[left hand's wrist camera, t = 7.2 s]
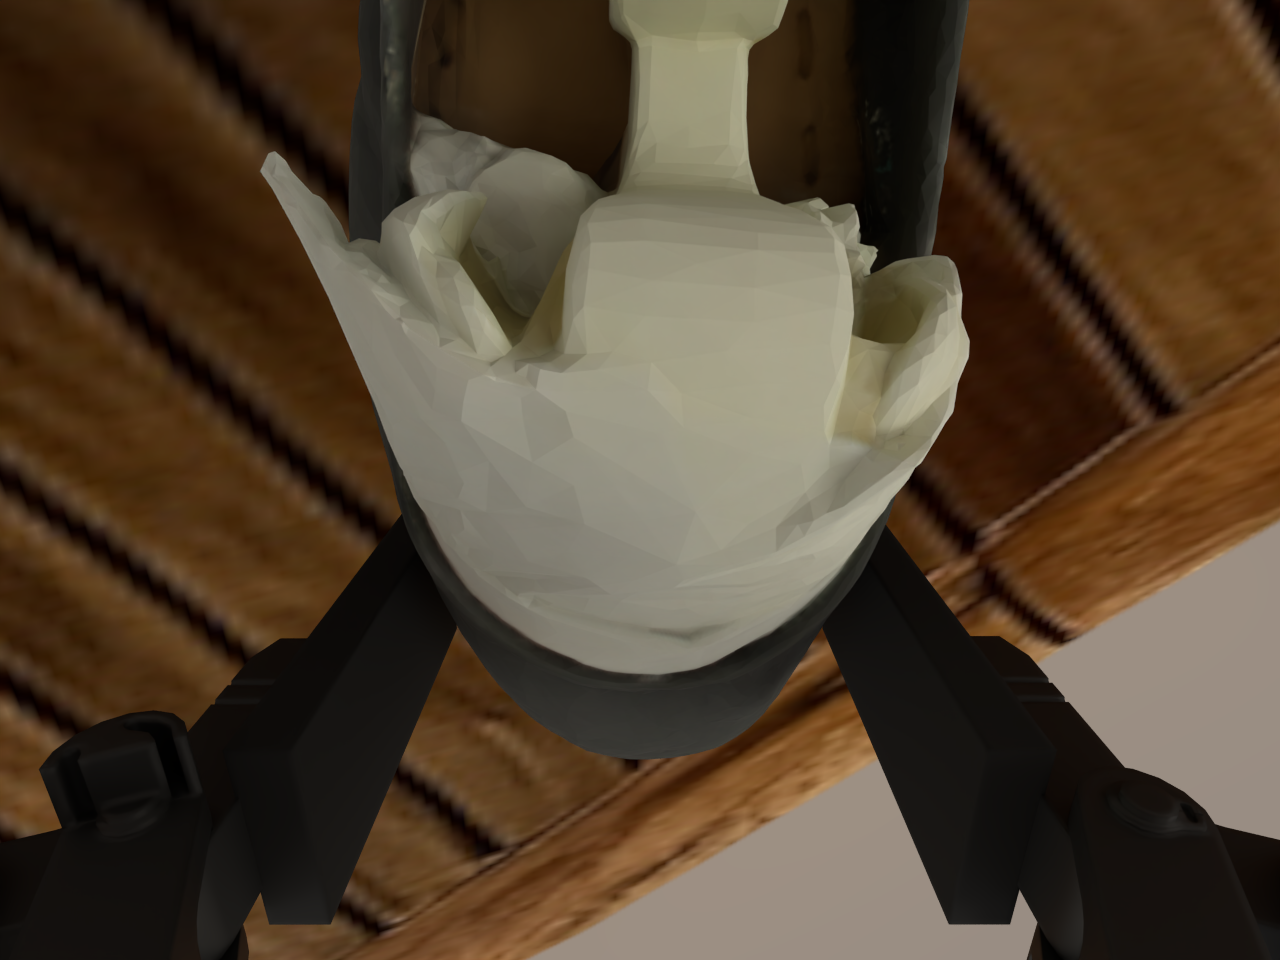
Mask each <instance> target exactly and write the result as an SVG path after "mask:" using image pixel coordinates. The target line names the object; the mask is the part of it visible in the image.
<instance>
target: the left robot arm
mask: <svg viewBox="0 0 1280 960" xmlns="http://www.w3.org/2000/svg"><path fill="white" fill-rule="evenodd" d="M456 629H457V626H456V623H455V621H454V619H453V617H452V615H451V614H450V612H449V610H448V608H447V607H446V605H445V603H444V601H443V600H442V598H441V596H440V594H439V592H438V589H437V587H436V585H435V583H434V581H433V579H432V577H431V575H430V573H429V571H428V569H427V568H426V566H425V564H424V562H423V561H422V559H421V557H420V555H419V554H418V552H417V550H416V548H415V546H414V544H413V542H412V540H411V537H410V535H409V533H408V530H407V527H406V525H405V522H404V519H403V516H402V514H401V516H400V517H399V518H398V520H397V521H396V522H395V524H394V525H393V526H392V528H391V529H390V530H389V532H388V533H387V534H386V535H385V537H384V538H383V539H382V541H381V542H380V543H379V545H378V546H377V547H376V549H375V550H374V551H373V553H372V554H371V555H370V557H369V558H368V559H367V560H366V562H365V563H364V564H363V566H362V567H361V568H360V570H359V571H358V572H357V574H356V575H355V576H354V578H353V579H352V580H351V582H350V583H349V584H348V586H347V587H346V588H345V589H344V591H343V592H342V593H341V595H340V596H339V597H338V599H337V600H336V601H335V603H334V604H333V605H332V607H331V608H330V609H329V611H328V612H327V613H326V614H325V616H324V617H323V618H322V620H321V621H320V622H319V624H318V625H317V626H316V628H315V629H314V630H313V632H312V633H311V634H310V636H309V637H308V638H282V639H279V640H277V641H276V642H274V643H273V644H271V645H270V646H268V647H267V648H265V649H264V650H262V651H261V652H259V653H258V654H256V655H255V656H253V657H252V658H250V660H249V661H248V662H247V663H246V664H245V665H244V667H243V668H242V669H241V670H240V671H239V673H238V674H237V675H236V676H235V677H234V678H233V680H232V683H231V685H227V687H226V688H225V689H224V690H223V691H222V693H221V694H220V695H219V696H218V697H217V698H216V700H215V701H216V702H215V705H210V707H209V708H208V709H207V710H206V711H205V713H204V714H203V715H202V716H201V717H200V718H199V720H198V721H197V722H196V723H195V724H194V725H193V727H192V728H191V729H190V730H189V731H188V733H187V729H186V726H185V722H184V721H183V720H181V719H180V718H179V717H177V716H176V715H175V714H173V713H167V712H161V711H145V712H137V713H129V714H126V715H122V716H119V717H116V718H113V719H109V720H106V721H103V722H100V723H98V724H96V725H94V726H92V727H90V728H88V729H86V730H84V731H82V732H80V733H78V734H76V735H75V736H73V737H72V738H71V739H69V740H68V741H67V742H65V743H64V744H62V745H61V746H60V747H58V748H57V749H56V750H54V751H53V752H52V753H51V755H50V756H49V757H48V758H47V760H46V761H45V762H44V764H43V765H42V766H41V767H40V769H39V771H40V773H41V776H42V778H43V781H44V783H45V786H46V788H47V791H48V793H49V796H50V799H51V801H52V804H53V806H54V809H55V811H56V814H57V816H58V819H59V821H60V824H61V826H62V828H61V829H58V830H54V831H50V832H46V833H41V834H37V835H33V836H28V837H24V838H20V839H16V840H11V841H7V842H3V843H0V960H248V956H249V949H248V943H247V937H246V933H245V929H244V926H243V923H244V921H245V919H246V918H247V916H248V914H249V912H250V910H251V908H252V907H253V905H254V903H255V901H256V899H257V897H258V896H259V894H260V892H261V895H262V899H263V903H264V906H265V910H266V914H267V917H268V921H269V924H331V922H332V920H333V917H334V915H335V913H336V910H337V908H338V906H339V903H340V901H341V899H342V896H343V894H344V892H345V889H346V887H347V885H348V882H349V880H350V878H351V875H352V873H353V870H354V868H355V866H356V863H357V861H358V859H359V856H360V854H361V852H362V849H363V847H364V845H365V842H366V840H367V838H368V835H369V833H370V831H371V828H372V826H373V824H374V821H375V819H376V817H377V814H378V812H379V810H380V807H381V805H382V803H383V800H384V798H385V796H386V793H387V791H388V789H389V786H390V784H391V782H392V779H393V777H394V774H395V772H396V770H397V767H398V765H399V763H400V760H401V758H402V756H403V753H404V751H405V749H406V746H407V744H408V742H409V739H410V737H411V735H412V732H413V730H414V728H415V725H416V723H417V721H418V718H419V716H420V714H421V711H422V709H423V707H424V704H425V702H426V700H427V697H428V695H429V693H430V690H431V688H432V685H433V683H434V681H435V678H436V676H437V674H438V671H439V669H440V667H441V664H442V662H443V660H444V657H445V655H446V653H447V650H448V648H449V646H450V643H451V641H452V639H453V636H454V634H455V632H456ZM823 631H824V633H825V635H826V638H827V640H828V642H829V645H830V647H831V649H832V652H833V654H834V656H835V659H836V661H837V663H838V666H839V668H840V670H841V673H842V675H843V677H844V680H845V682H846V684H847V687H848V689H849V692H850V694H851V696H852V699H853V701H854V703H855V706H856V708H857V710H858V713H859V715H860V717H861V720H862V722H863V724H864V727H865V729H866V731H867V734H868V736H869V738H870V741H871V743H872V745H873V748H874V750H875V752H876V755H877V757H878V759H879V762H880V764H881V766H882V769H883V771H884V773H885V776H886V778H887V780H888V783H889V785H890V788H891V790H892V792H893V795H894V797H895V799H896V801H897V804H898V806H899V809H900V811H901V813H902V816H903V818H904V820H905V823H906V825H907V827H908V830H909V832H910V834H911V837H912V839H913V841H914V844H915V846H916V848H917V851H918V853H919V855H920V858H921V860H922V862H923V865H924V867H925V869H926V872H927V874H928V876H929V879H930V881H931V884H932V886H933V888H934V890H935V893H936V895H937V898H938V900H939V902H940V905H941V907H942V909H943V912H944V914H945V916H946V919H947V921H948V923H949V924H1010V923H1011V919H1012V915H1013V911H1014V907H1015V904H1016V900H1017V896H1018V893H1019V889H1020V891H1021V893H1022V895H1023V897H1024V898H1025V900H1026V902H1027V904H1028V906H1029V908H1030V909H1031V911H1032V913H1033V915H1034V917H1035V918H1036V920H1037V922H1038V923H1037V926H1036V929H1035V933H1034V936H1033V940H1032V943H1031V947H1030V950H1029V954H1028V957H1027V960H1280V840H1278V839H1273V838H1269V837H1265V836H1260V835H1256V834H1252V833H1248V832H1243V831H1239V830H1235V829H1230V828H1226V827H1223V826H1219V825H1216V824H1214V822H1213V821H1212V819H1211V818H1210V816H1209V815H1208V813H1207V812H1206V810H1205V809H1204V808H1202V807H1201V806H1200V805H1199V804H1198V803H1197V802H1195V801H1194V800H1193V799H1192V798H1191V797H1189V796H1188V795H1187V794H1186V793H1185V792H1183V791H1181V790H1180V789H1178V788H1176V787H1174V786H1173V785H1171V784H1169V783H1167V782H1165V781H1164V780H1162V779H1160V778H1158V777H1155V776H1152V775H1149V774H1146V773H1143V772H1140V771H1138V770H1135V769H1130V768H1125V767H1124V766H1123V765H1122V764H1121V763H1120V761H1119V760H1118V759H1117V758H1116V757H1115V756H1114V754H1113V753H1112V752H1111V751H1110V750H1109V749H1108V747H1107V746H1106V745H1105V744H1104V743H1103V742H1102V740H1101V739H1100V738H1099V737H1098V736H1097V735H1096V733H1095V732H1094V731H1093V730H1092V729H1091V727H1090V726H1089V725H1088V724H1087V723H1086V722H1085V721H1084V719H1083V718H1082V717H1081V716H1080V715H1079V713H1078V712H1077V711H1076V710H1075V709H1074V708H1073V707H1072V705H1071V704H1070V703H1069V702H1065V699H1064V696H1063V695H1062V694H1061V692H1060V691H1059V690H1058V689H1057V688H1056V687H1055V686H1054V684H1053V683H1049V681H1048V677H1047V676H1046V675H1045V674H1044V673H1043V671H1042V670H1041V669H1040V668H1039V667H1038V666H1037V664H1036V663H1035V662H1034V661H1033V660H1032V659H1031V657H1030V656H1029V655H1027V654H1026V653H1024V652H1023V651H1021V650H1020V649H1018V648H1017V647H1015V646H1013V645H1012V644H1010V643H1009V642H1007V641H1006V640H1004V639H1003V638H1001V637H1000V636H970V635H969V634H968V632H967V631H966V630H965V628H964V627H963V626H962V625H961V623H960V622H959V621H958V619H957V618H956V617H955V615H954V614H953V613H952V611H951V610H950V609H949V607H948V606H947V605H946V603H945V602H944V601H943V599H942V598H941V597H940V596H939V594H938V593H937V592H936V590H935V589H934V588H933V586H932V585H931V584H930V582H929V581H928V580H927V578H926V577H925V576H924V574H923V573H922V572H921V571H920V569H919V568H918V567H917V565H916V564H915V563H914V561H913V560H912V559H911V557H910V556H909V555H908V553H907V552H906V551H905V549H904V548H903V547H902V546H901V544H900V543H899V542H898V540H897V539H896V538H895V536H894V535H893V534H892V532H891V531H890V530H889V528H888V527H887V526H886V524H885V527H884V529H883V531H882V533H881V536H880V538H879V540H878V542H877V545H876V547H875V549H874V551H873V553H872V555H871V556H870V558H869V560H868V562H867V564H866V566H865V568H864V570H863V572H862V574H861V575H860V577H859V578H858V580H857V581H856V582H855V584H854V585H853V587H852V588H851V590H850V591H849V592H848V593H847V594H846V596H845V597H844V598H843V599H842V601H841V602H840V603H839V604H838V606H837V607H836V608H835V609H834V610H833V611H832V613H831V614H830V616H829V617H828V618H827V620H826V621H825V623H824V625H823Z"/></svg>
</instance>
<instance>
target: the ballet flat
mask: <svg viewBox="0 0 1280 960" xmlns="http://www.w3.org/2000/svg"><path fill="white" fill-rule="evenodd" d="M968 6H969V0H360V6H359V26H358V44H359V54H360V63H361V80H360V83H359V87H358V91H357V94H356V98H355V103H354V110H353V118H352V129H351V144H350V167H349V233H350V243H349V242H348V240H347V238H346V235H345V233H344V231H343V228H342V226H341V223H340V222H339V221H338V219H337V218H336V216H335V215H334V213H333V212H332V211H331V209H330V208H329V206H328V205H327V203H326V202H325V201H324V200H323V199H322V198H321V197H320V196H317V195H314V194H312V193H311V192H310V190H309V189H308V188H307V187H306V186H305V185H304V184H303V183H302V182H301V181H300V180H299V179H298V178H297V177H296V175H295V174H294V173H293V172H292V171H291V169H290V167H289V166H288V164H287V162H286V161H285V160H284V159H283V158H282V157H281V156H280V155H279V154H277V153H276V152H271V153H269V154H268V155H267V158H266V160H265V162H264V164H263V166H262V169H261V171H260V172H261V173H262V175H263V176H264V177H265V179H266V180H267V182H268V183H269V185H270V186H271V187H272V189H273V191H274V193H275V194H276V196H277V198H278V200H279V202H280V204H281V205H282V207H283V209H284V211H285V213H286V215H287V216H288V218H289V220H290V222H291V224H292V226H293V227H294V229H295V231H296V233H297V235H298V236H299V238H300V240H301V242H302V244H303V246H304V248H305V250H306V252H307V254H308V256H309V258H310V261H311V263H312V265H313V267H314V269H315V271H316V273H317V275H318V277H319V279H320V281H321V283H322V285H323V287H324V289H325V291H326V293H327V295H328V297H329V300H330V302H331V304H332V306H333V309H334V311H335V313H336V316H337V318H338V320H339V323H340V325H341V327H342V330H343V332H344V334H345V336H346V339H347V341H348V343H349V346H350V348H351V350H352V353H353V355H354V357H355V360H356V362H357V364H358V366H359V369H360V371H361V373H362V376H363V378H364V380H365V383H366V385H367V387H368V390H369V392H370V395H371V399H372V404H373V408H374V412H375V416H376V419H377V423H378V426H379V430H380V433H381V437H382V440H383V444H384V447H385V451H386V454H387V458H388V461H389V465H390V468H391V472H392V476H393V481H394V485H395V490H396V495H397V500H398V503H399V506H400V509H401V512H402V516H403V519H404V522H405V525H406V527H407V530H408V533H409V535H410V537H411V540H412V542H413V544H414V546H415V548H416V550H417V552H418V554H419V555H420V557H421V559H422V561H423V562H424V564H425V566H426V568H427V569H428V571H429V573H430V575H431V577H432V579H433V581H434V583H435V585H436V587H437V589H438V592H439V594H440V596H441V598H442V600H443V601H444V603H445V605H446V607H447V608H448V610H449V612H450V614H451V615H452V617H453V619H454V621H455V623H456V624H457V626H458V628H459V630H460V631H461V633H462V635H463V636H464V637H465V639H466V640H467V642H468V643H469V645H470V646H471V647H472V649H473V650H474V652H475V653H476V655H477V656H478V658H479V659H480V661H481V662H482V664H483V665H484V667H485V668H486V669H487V671H488V672H489V673H490V674H491V676H492V677H493V678H494V679H495V681H496V682H497V683H498V684H499V686H500V687H501V688H502V689H503V690H504V691H505V692H506V693H507V694H508V695H509V696H510V697H511V698H512V699H513V700H514V701H515V702H516V703H517V704H518V705H519V706H520V707H521V708H522V709H523V710H524V711H525V712H526V713H527V714H528V715H529V716H530V717H532V718H533V719H534V720H535V721H537V722H538V723H540V724H541V725H543V726H544V727H546V728H547V729H549V730H550V731H552V732H553V733H555V734H557V735H559V736H561V737H563V738H565V739H566V740H568V741H569V742H571V743H573V744H575V745H577V746H579V747H581V748H583V749H585V750H587V751H590V752H594V753H598V754H603V755H607V756H613V757H619V758H625V759H659V758H672V757H679V756H685V755H690V754H695V753H699V752H703V751H706V750H710V749H714V748H716V747H719V746H721V745H723V744H725V743H726V742H728V741H730V740H732V739H733V738H735V737H737V736H738V735H739V734H741V733H742V732H744V731H745V730H747V729H748V728H749V727H750V726H751V725H752V724H753V723H755V722H756V721H757V720H758V719H759V718H760V717H761V716H762V715H763V714H764V713H765V711H766V710H767V709H768V707H769V706H770V705H771V703H772V702H773V701H774V700H775V698H776V697H777V696H778V695H779V693H780V691H781V690H782V688H783V687H784V685H785V684H786V682H787V681H788V679H789V678H790V676H791V675H792V673H793V672H794V670H795V668H796V667H797V665H798V664H799V662H800V661H801V659H802V658H803V656H804V655H805V653H806V651H807V650H808V648H809V647H810V645H811V643H812V642H813V640H814V639H815V637H816V636H817V634H818V633H819V631H820V629H821V628H822V626H823V625H824V623H825V621H826V620H827V618H828V617H829V616H830V614H831V613H832V611H833V610H834V609H835V608H836V607H837V606H838V604H839V603H840V602H841V601H842V599H843V598H844V597H845V596H846V594H847V593H848V592H849V591H850V590H851V588H852V587H853V585H854V584H855V582H856V581H857V580H858V578H859V577H860V575H861V574H862V572H863V570H864V568H865V566H866V564H867V562H868V560H869V558H870V556H871V555H872V553H873V551H874V549H875V547H876V545H877V542H878V540H879V538H880V536H881V533H882V531H883V529H884V527H885V524H886V522H887V520H888V518H889V515H890V511H891V508H892V505H893V502H894V499H895V496H896V493H897V492H898V491H899V490H900V489H901V488H902V486H903V485H904V484H905V483H906V481H907V480H908V479H909V477H910V475H911V474H912V472H913V470H914V469H915V467H916V466H918V465H919V464H920V463H921V462H922V461H923V459H924V457H925V456H926V454H927V453H928V451H929V449H930V448H931V446H932V444H933V443H934V441H935V440H936V438H937V436H938V434H939V433H940V431H941V429H942V428H943V426H944V424H945V423H946V421H947V420H948V418H949V417H950V416H951V414H952V413H953V410H954V403H955V397H956V391H957V384H958V381H959V378H960V376H961V374H962V371H963V369H964V367H965V364H966V362H967V360H968V357H969V338H968V336H967V333H966V330H965V327H964V325H963V322H962V319H961V306H962V291H961V286H960V282H959V277H958V272H957V269H956V266H955V264H954V262H952V261H951V260H950V259H949V258H948V257H946V256H938V255H932V256H931V252H932V248H933V243H934V238H935V234H936V225H937V214H938V204H939V199H940V194H941V188H942V183H943V170H944V165H945V162H946V158H947V150H948V142H949V134H950V127H951V119H952V112H953V106H954V99H955V93H956V87H957V79H958V72H959V64H960V57H961V51H962V45H963V39H964V33H965V27H966V20H967V14H968Z"/></svg>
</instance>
